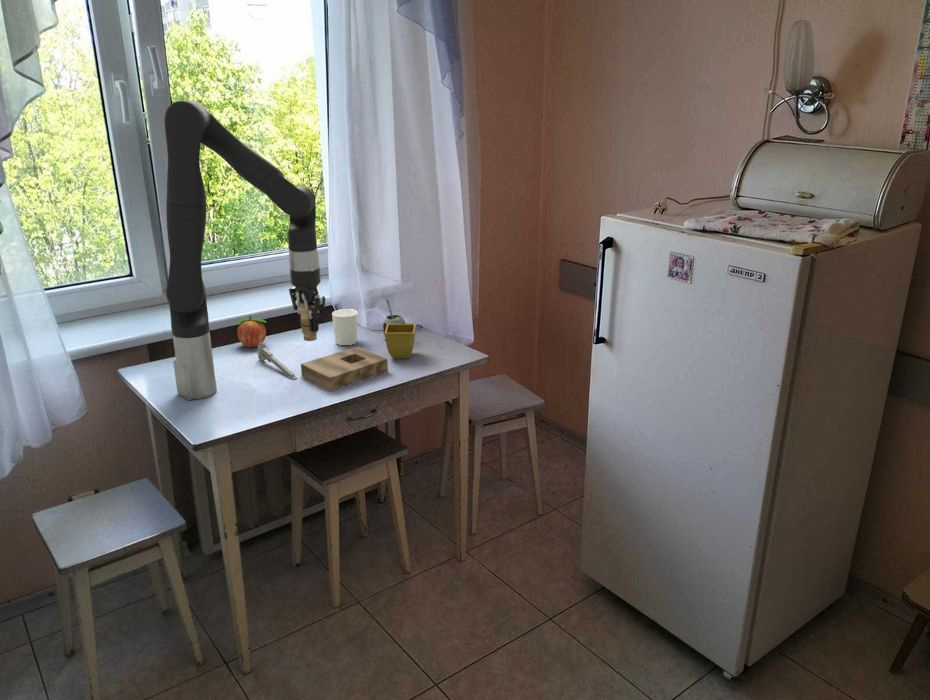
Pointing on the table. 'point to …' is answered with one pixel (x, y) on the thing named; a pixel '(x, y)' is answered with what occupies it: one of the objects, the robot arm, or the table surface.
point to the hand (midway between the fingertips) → (309, 328)
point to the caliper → (273, 360)
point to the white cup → (345, 326)
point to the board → (344, 368)
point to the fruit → (251, 331)
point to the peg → (306, 324)
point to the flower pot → (400, 339)
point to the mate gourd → (392, 318)
